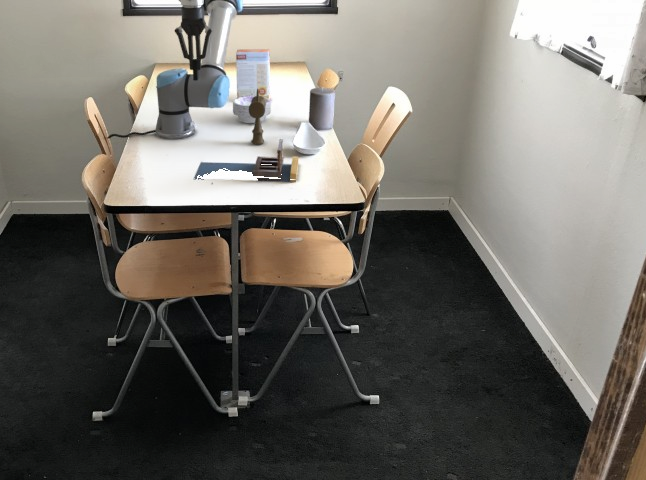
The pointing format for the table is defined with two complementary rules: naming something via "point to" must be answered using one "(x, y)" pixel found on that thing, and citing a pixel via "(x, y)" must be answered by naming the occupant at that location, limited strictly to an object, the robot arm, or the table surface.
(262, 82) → the cracker box
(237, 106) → the paper bowls
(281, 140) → the rack
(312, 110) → the pillar candle
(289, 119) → the table surface
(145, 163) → the table surface
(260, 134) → the kendama
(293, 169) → the rail
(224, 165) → the runner mat
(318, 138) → the spoon rest
